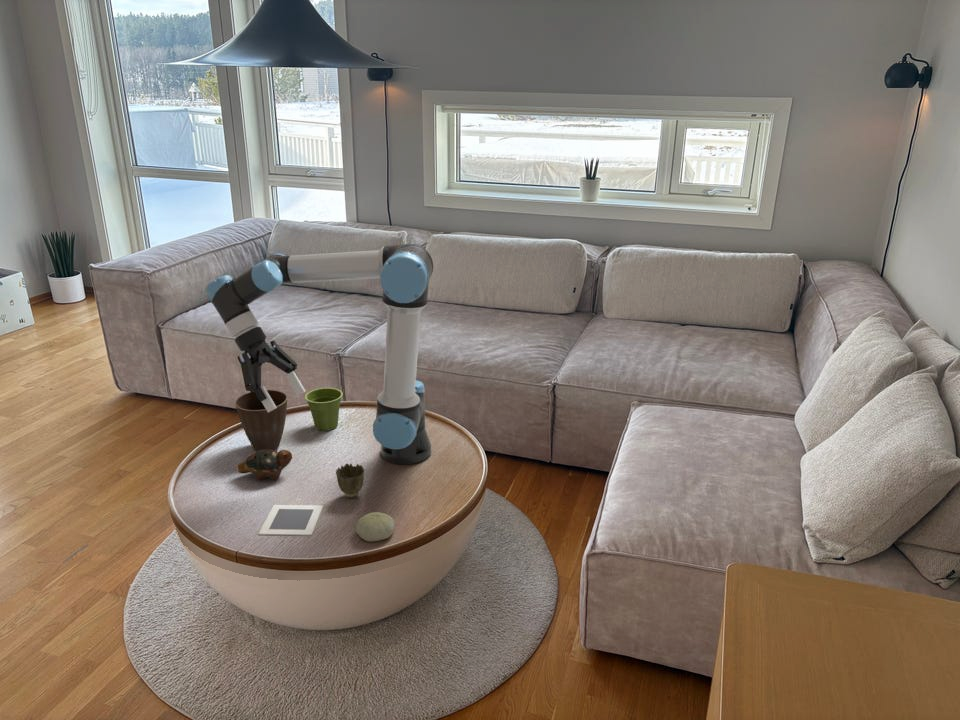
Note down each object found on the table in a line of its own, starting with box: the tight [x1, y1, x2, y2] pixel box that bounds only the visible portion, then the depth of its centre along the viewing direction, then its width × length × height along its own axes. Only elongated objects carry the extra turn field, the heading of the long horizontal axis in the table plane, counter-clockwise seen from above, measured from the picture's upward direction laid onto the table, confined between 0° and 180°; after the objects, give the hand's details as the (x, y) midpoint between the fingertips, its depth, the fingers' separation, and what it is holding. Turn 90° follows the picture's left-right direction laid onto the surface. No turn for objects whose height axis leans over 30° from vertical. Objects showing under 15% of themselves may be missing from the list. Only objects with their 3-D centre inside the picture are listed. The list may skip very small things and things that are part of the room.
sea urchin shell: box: [355, 511, 395, 543], centre depth 176 cm, size 9×8×8 cm
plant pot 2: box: [304, 387, 344, 432], centre depth 230 cm, size 12×12×11 cm
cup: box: [335, 463, 365, 499], centre depth 191 cm, size 8×7×8 cm
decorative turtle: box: [237, 449, 293, 482], centre depth 201 cm, size 10×15×8 cm, turn 103°
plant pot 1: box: [234, 389, 288, 452], centre depth 215 cm, size 15×15×16 cm
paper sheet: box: [258, 504, 324, 536], centre depth 181 cm, size 13×13×1 cm
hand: (287, 401), depth 190 cm, fingers open, 13 cm apart
